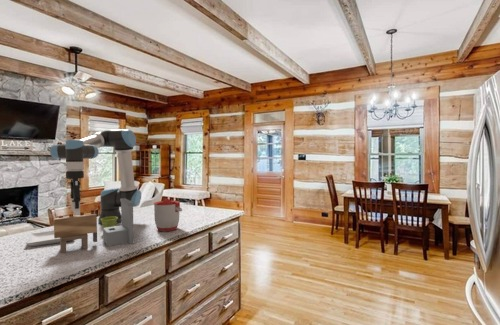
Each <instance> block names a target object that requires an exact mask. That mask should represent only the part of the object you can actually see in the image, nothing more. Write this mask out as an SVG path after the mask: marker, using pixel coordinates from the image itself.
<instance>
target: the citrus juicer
mask: <svg viewBox="0 0 500 325" xmlns="http://www.w3.org/2000/svg"><path fill="white" fill-rule="evenodd" d="M180 203H181V202H180V201H179V200H171V199H170V198H168V197H165V198H164V200H161V201H160V200H159V201H155V202H153V204H154V208H153V210H154V223H155V227H156V230H157V231H159V232H172V231H175V230H176V229H178V226H179V222H180V212H182V211H183V209H182V207H181V204H180Z"/></svg>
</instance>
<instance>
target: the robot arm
mask: <svg viewBox="0 0 500 325" xmlns="http://www.w3.org/2000/svg"><path fill="white" fill-rule="evenodd" d="M136 143H137V138H136V135H135V133H134V132H133V131H132V130H131V129H127V128H126V129H123V128H122V129H120V128H119V129H118V128H117V129H104V130H101V131H97V132H93V133H92V134H90V135H89V136H87V137H83V138H81V139H67V140H65V143H64V144H54V145H52V146H51V147H50V150H49V153H50V156H51V157H52V158H53V159H57V160H65V163H64V166H65V170H66V171H65V178H66V179H68V180H70V182H69V185H70V188H69V189H70V195H69V196H70V212H72V213H73V216H81V199H82V198H81V182H80V180H79V179H83V178H84V177H85V174H84V173H85V172H84V169H85V166H84V164H85V163H84V162H85V161H84V160H85V159H87V160H88V159H89V160H91V159H95V158H97V157H98V155H99V149H100V148H104V147H105V148H106V147H107V148H114V151H115V152H116V153H117V161H118V170H119V171H118V172H119V180H120V188H118V187H116V188H115V187H114V188H108V189H103V190H101V191H100V213H99V216H98V218H97V224H100V225H102V221H101V218H104V217H118V219H117V221H116V224H118V223H121V211H120V210H121V209H120V208H121V202H120V199H124V198H125V199H127V200H129V201H131V202H134V206H133V208H135V207H138V206H139V204H140V203H141V200H142V192H141V190H140V189H138V186H137V185H136V184H135V178H134V177H135V176H134V167H133V156H132V151H133V150H134V148H135V147H136Z"/></svg>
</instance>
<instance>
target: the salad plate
mask: <svg viewBox="0 0 500 325" xmlns="http://www.w3.org/2000/svg"><path fill="white" fill-rule="evenodd" d="M58 243H60V238H54V229H53V230H48V231H41V232H33V233H31V234H29V237H28V239H27V240H26V241H25V244H26V245H28V246H32V247H36V246H37V247H39V246H44V245H52V244H58Z"/></svg>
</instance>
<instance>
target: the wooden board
mask: <svg viewBox="0 0 500 325" xmlns="http://www.w3.org/2000/svg"><path fill="white" fill-rule="evenodd" d="M97 215H98V214H97V213H92V214H83V215H81V214H80V215H76V216H74V215H73V216H67V217H66V216H65V217H57V218H56V217H55V218H53V230H54V238H61V237H68V236H75V235H81V234H92V241H93V243H96V242H98V218H97V217H98V216H97Z"/></svg>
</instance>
